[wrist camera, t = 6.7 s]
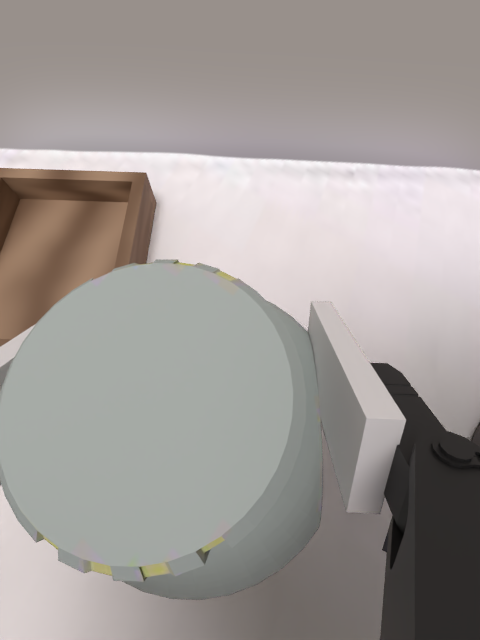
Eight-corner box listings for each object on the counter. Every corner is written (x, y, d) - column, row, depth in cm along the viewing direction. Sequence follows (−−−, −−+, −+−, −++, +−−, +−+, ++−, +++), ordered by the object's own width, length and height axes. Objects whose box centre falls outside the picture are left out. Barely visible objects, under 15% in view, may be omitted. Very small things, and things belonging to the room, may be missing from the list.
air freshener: (139, 316, 17) (9, 164, 8) (292, 317, 17) (345, 161, 8) (104, 558, 13) (-248, 839, 4) (303, 564, 13) (446, 881, 4)
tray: (156, 202, 30) (146, 172, 27) (128, 369, 24) (111, 357, 21) (19, 197, 30) (-8, 167, 27) (-41, 362, 24) (-85, 350, 21)
